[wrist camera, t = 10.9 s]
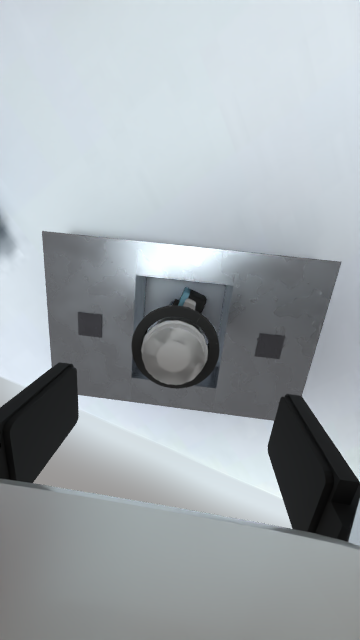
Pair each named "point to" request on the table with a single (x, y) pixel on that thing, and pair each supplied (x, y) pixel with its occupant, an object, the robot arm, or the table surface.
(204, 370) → the push button
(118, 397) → the gray pocketed block
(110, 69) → the table surface
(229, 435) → the table surface
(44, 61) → the table surface
